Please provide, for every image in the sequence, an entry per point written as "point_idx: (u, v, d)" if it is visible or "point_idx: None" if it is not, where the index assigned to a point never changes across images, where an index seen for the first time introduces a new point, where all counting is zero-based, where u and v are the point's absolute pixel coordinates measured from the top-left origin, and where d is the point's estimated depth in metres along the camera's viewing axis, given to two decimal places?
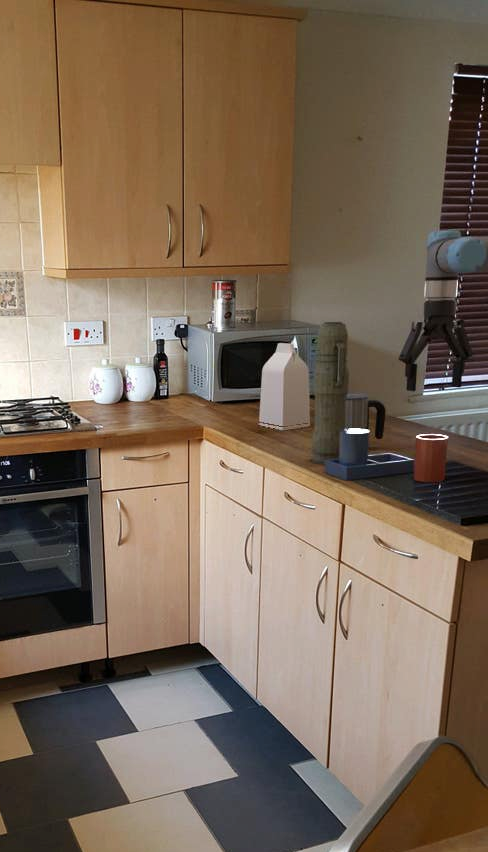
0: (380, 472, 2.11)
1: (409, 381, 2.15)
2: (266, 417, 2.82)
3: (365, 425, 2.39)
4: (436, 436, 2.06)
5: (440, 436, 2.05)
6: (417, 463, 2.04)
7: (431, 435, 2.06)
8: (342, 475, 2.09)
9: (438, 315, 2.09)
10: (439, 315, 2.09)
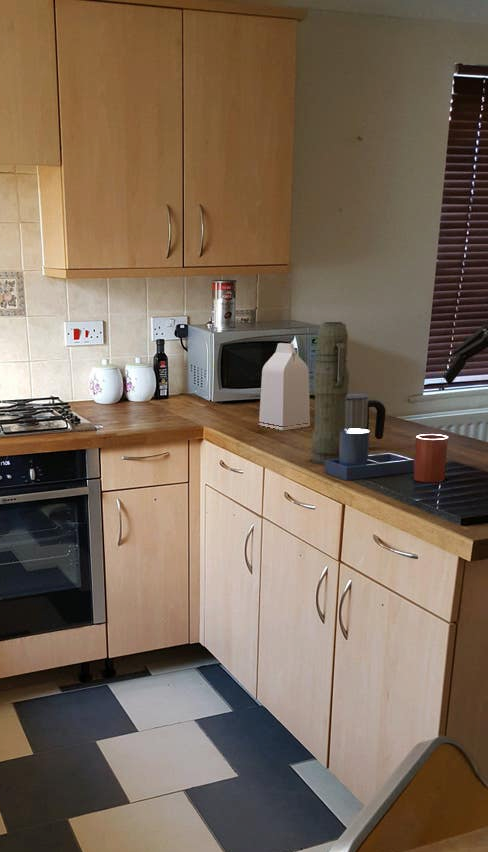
0: (380, 472, 2.11)
1: None
2: (266, 417, 2.82)
3: (365, 425, 2.39)
4: (436, 436, 2.06)
5: (440, 436, 2.05)
6: (417, 463, 2.04)
7: (431, 435, 2.06)
8: (342, 475, 2.09)
9: None
10: None
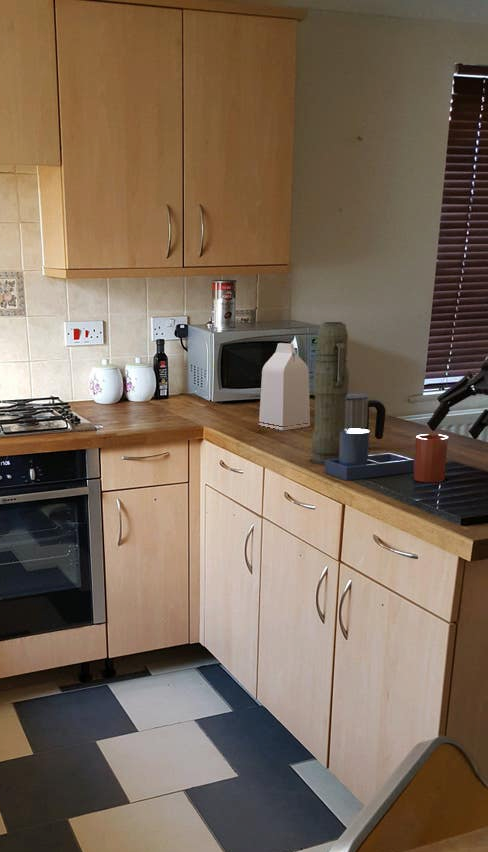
0: (380, 472, 2.11)
1: None
2: (266, 417, 2.82)
3: (365, 425, 2.39)
4: (436, 436, 2.06)
5: (440, 436, 2.05)
6: (417, 463, 2.04)
7: (431, 435, 2.06)
8: (342, 475, 2.09)
9: (482, 364, 2.07)
10: (482, 364, 2.07)
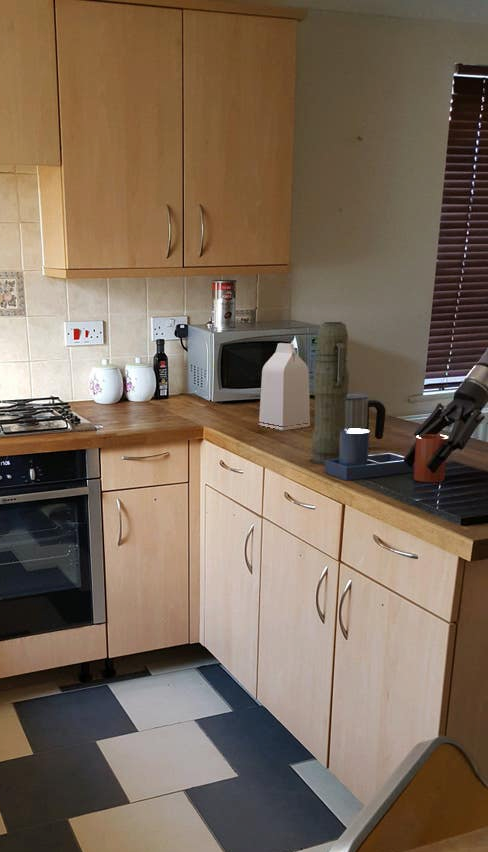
0: (380, 472, 2.11)
1: None
2: (266, 417, 2.82)
3: (365, 425, 2.39)
4: (436, 436, 2.06)
5: (440, 436, 2.05)
6: (417, 463, 2.04)
7: (431, 435, 2.06)
8: (342, 475, 2.09)
9: (454, 393, 2.06)
10: (454, 393, 2.05)
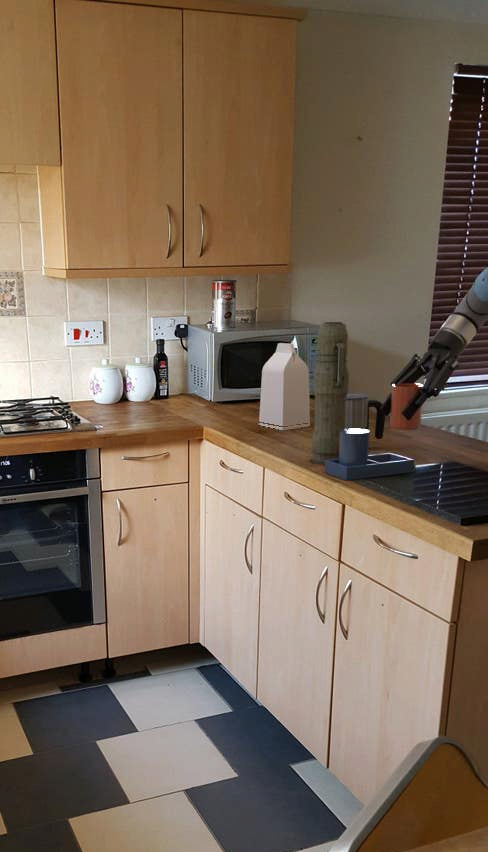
0: (380, 472, 2.11)
1: None
2: (266, 417, 2.82)
3: (365, 425, 2.39)
4: (412, 385, 2.08)
5: (416, 385, 2.08)
6: (393, 411, 2.07)
7: (407, 384, 2.09)
8: (342, 475, 2.09)
9: (430, 342, 2.08)
10: (430, 342, 2.08)
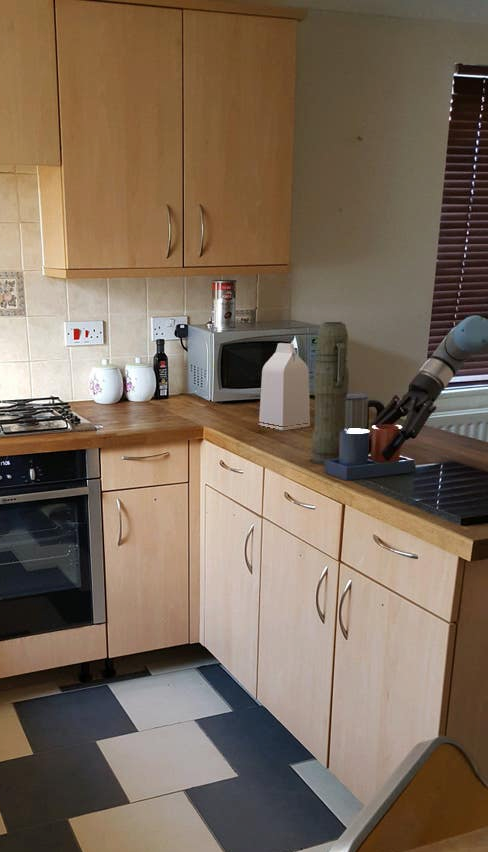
0: (380, 472, 2.11)
1: None
2: (266, 417, 2.82)
3: (365, 425, 2.39)
4: (391, 426, 2.16)
5: (395, 426, 2.15)
6: (373, 452, 2.14)
7: (387, 425, 2.16)
8: (342, 475, 2.09)
9: (409, 385, 2.16)
10: (409, 385, 2.16)
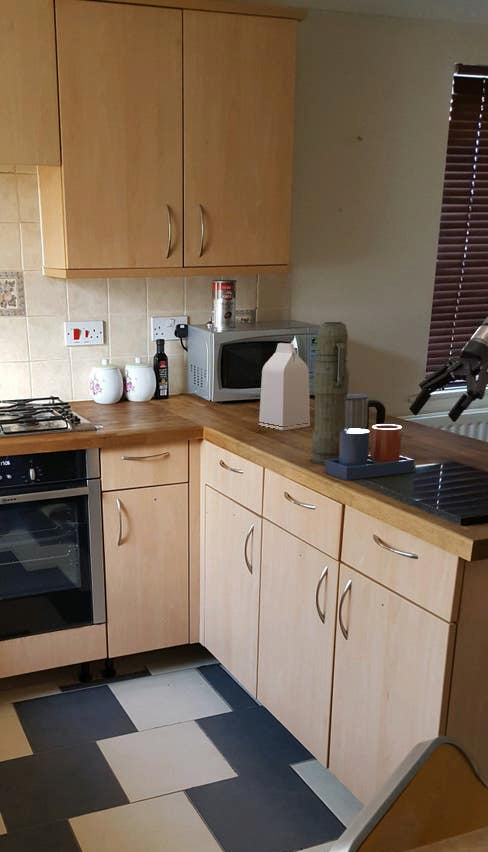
0: (380, 472, 2.11)
1: None
2: (266, 417, 2.82)
3: (365, 425, 2.39)
4: (391, 426, 2.16)
5: (395, 426, 2.15)
6: (373, 452, 2.14)
7: (387, 425, 2.16)
8: (342, 475, 2.09)
9: (461, 352, 2.19)
10: (461, 352, 2.18)
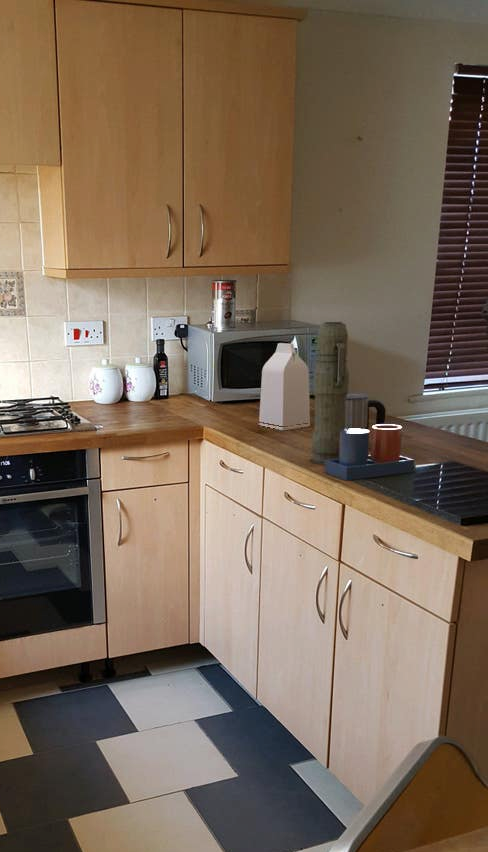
0: (380, 472, 2.11)
1: None
2: (266, 417, 2.82)
3: (365, 425, 2.39)
4: (391, 426, 2.16)
5: (395, 426, 2.15)
6: (373, 452, 2.14)
7: (387, 425, 2.16)
8: (342, 475, 2.09)
9: None
10: None
